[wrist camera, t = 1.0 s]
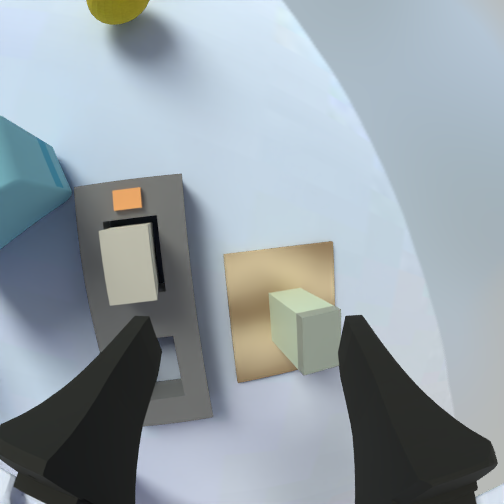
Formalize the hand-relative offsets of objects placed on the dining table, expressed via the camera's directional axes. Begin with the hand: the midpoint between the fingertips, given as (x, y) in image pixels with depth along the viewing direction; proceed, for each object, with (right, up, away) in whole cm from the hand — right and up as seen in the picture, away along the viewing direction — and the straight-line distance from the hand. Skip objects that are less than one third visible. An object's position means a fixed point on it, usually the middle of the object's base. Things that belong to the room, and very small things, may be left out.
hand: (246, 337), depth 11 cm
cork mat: (+3, -2, +17) cm, 17 cm away
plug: (+3, -2, +17) cm, 17 cm away
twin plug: (-9, +3, +13) cm, 16 cm away
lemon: (-12, +25, +10) cm, 29 cm away
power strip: (-9, -1, +14) cm, 16 cm away
